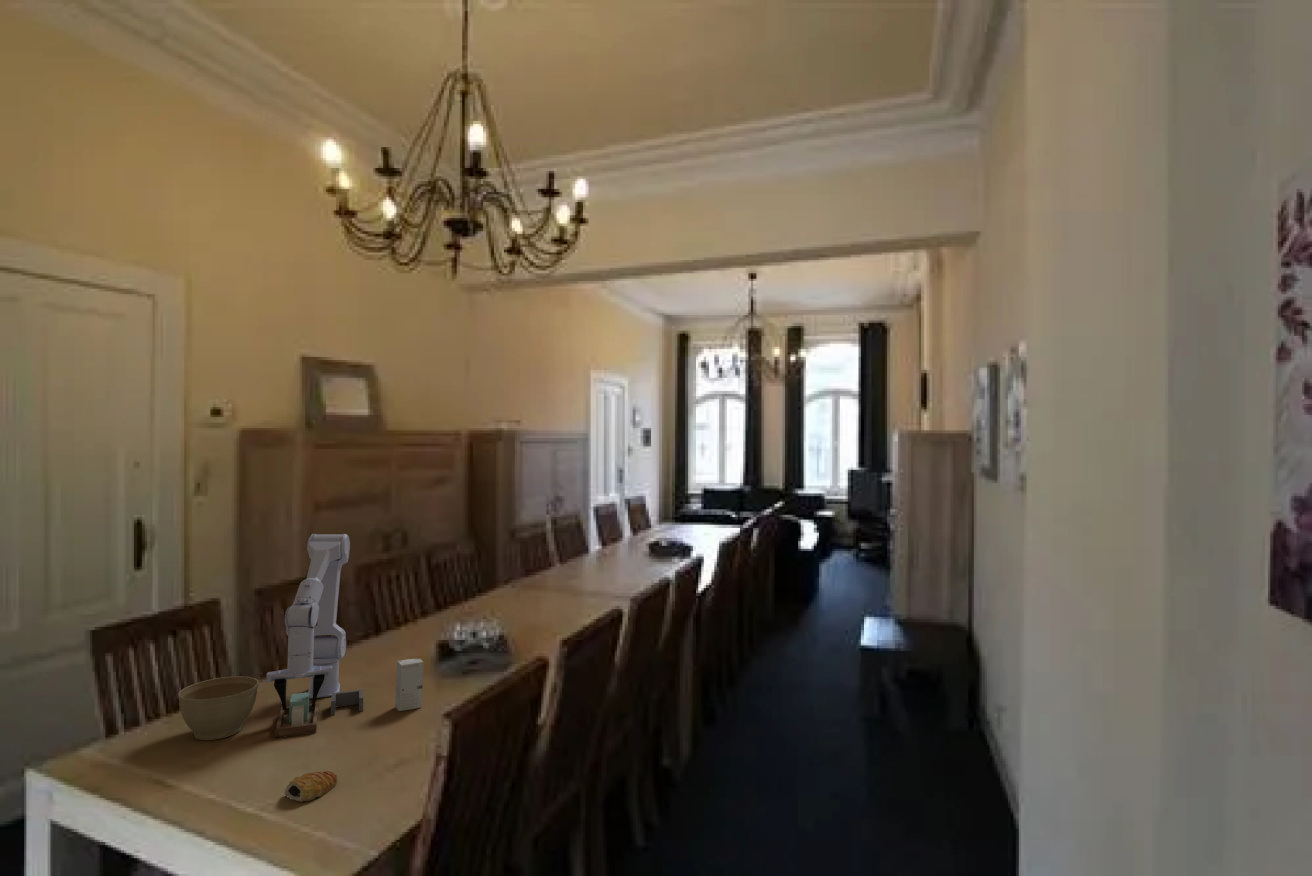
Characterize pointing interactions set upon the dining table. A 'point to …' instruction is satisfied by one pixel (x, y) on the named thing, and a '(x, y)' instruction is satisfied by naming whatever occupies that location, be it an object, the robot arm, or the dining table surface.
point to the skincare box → (409, 684)
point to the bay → (347, 699)
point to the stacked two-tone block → (299, 708)
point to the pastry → (310, 785)
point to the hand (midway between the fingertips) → (299, 706)
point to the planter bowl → (218, 706)
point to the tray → (307, 727)
